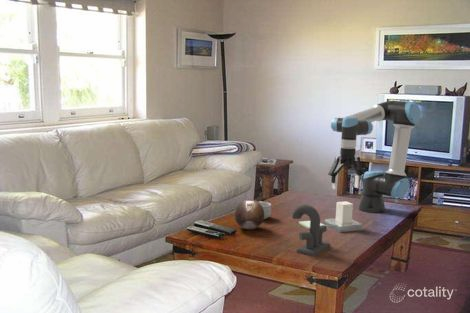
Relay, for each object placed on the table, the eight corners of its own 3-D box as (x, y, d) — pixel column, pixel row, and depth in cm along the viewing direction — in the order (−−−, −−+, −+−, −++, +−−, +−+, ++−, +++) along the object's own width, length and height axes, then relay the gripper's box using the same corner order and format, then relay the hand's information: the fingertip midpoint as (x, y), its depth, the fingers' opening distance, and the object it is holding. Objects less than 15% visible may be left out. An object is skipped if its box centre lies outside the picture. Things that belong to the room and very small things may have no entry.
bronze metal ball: (238, 233, 256) (239, 204, 254) (231, 225, 271) (231, 196, 268) (267, 232, 260) (268, 203, 257) (259, 223, 274) (260, 195, 272)
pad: (315, 221, 280) (315, 220, 280) (325, 227, 271) (325, 225, 271) (298, 223, 276) (298, 221, 276) (308, 228, 267) (308, 227, 267)
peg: (344, 225, 276) (346, 201, 274) (351, 228, 270) (353, 204, 268) (335, 226, 274) (336, 202, 271) (341, 229, 268) (343, 204, 266)
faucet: (300, 239, 251) (302, 198, 248) (330, 246, 242) (333, 204, 239) (281, 249, 236) (283, 206, 233) (313, 256, 228) (315, 212, 224)
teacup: (269, 221, 279) (269, 207, 277) (249, 220, 281) (249, 205, 279) (272, 214, 292) (273, 200, 291) (253, 213, 294) (253, 199, 293)
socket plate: (346, 222, 281) (347, 216, 281) (362, 229, 268) (362, 224, 268) (324, 224, 276) (324, 219, 275) (339, 232, 263) (339, 226, 262)
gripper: (363, 145, 273) (361, 185, 277) (323, 147, 264) (320, 188, 267) (372, 148, 267) (369, 188, 270) (331, 149, 257) (328, 191, 260)
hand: (345, 188), depth 268 cm, fingers open, 13 cm apart
